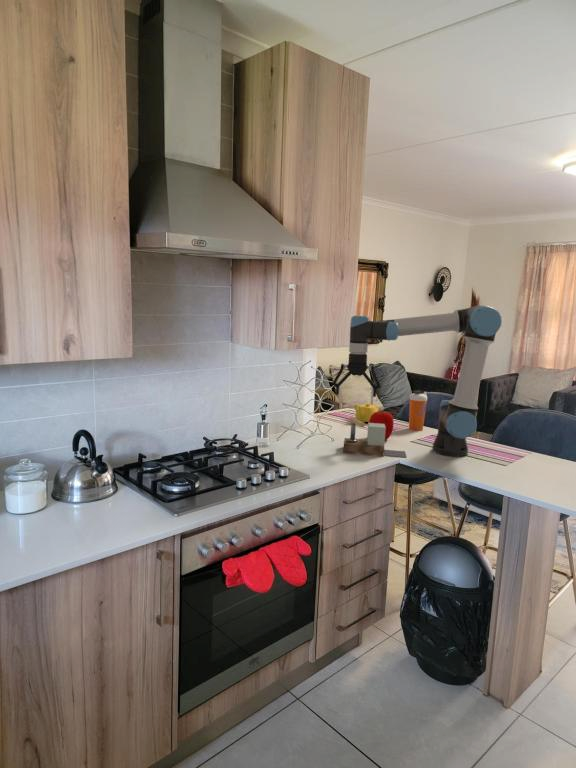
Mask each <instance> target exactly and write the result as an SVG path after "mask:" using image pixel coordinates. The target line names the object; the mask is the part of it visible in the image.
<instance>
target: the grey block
mask: <svg viewBox="0 0 576 768" xmlns="http://www.w3.org/2000/svg"><path fill="white" fill-rule="evenodd" d="M385 430H386V427H385V424H378V423H367V437H366V440H367V444H368V445H376V446H384V447H385V441H386V440H385Z"/></svg>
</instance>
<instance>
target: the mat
mask: <svg viewBox="0 0 576 768" xmlns="http://www.w3.org/2000/svg"><path fill="white" fill-rule="evenodd" d="M384 456H385V457H392V458H403V459H407V457H408V456H407V453H406V451H405V450H395V449H394V450H392V449H384Z"/></svg>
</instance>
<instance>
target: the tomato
mask: <svg viewBox="0 0 576 768" xmlns="http://www.w3.org/2000/svg"><path fill="white" fill-rule="evenodd" d="M369 423H378V424H385V427H386V430H385V441H386V440H388V439H389V438H390V437H391V436H392V433H393V430H394V417H393V415H392V413H391V412H389V411H387V410H386V411H385V409H383V410H381V411H378V412H375V413H373V414H372V416H371V418H370V421H369Z"/></svg>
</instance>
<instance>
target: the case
mask: <svg viewBox="0 0 576 768" xmlns="http://www.w3.org/2000/svg"><path fill="white" fill-rule="evenodd" d="M348 438H349V437H344V439H343V454H350V455H351V454H353V455H362V456H363V455H365V456H374V457H375V456H376V457H384V456H385V453H384V450H385V445H384V446H376V445H368V444H367V439H363V438H362V439H361V438H356V439H357V440H358V441H357V442H349V441H347V439H348Z"/></svg>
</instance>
